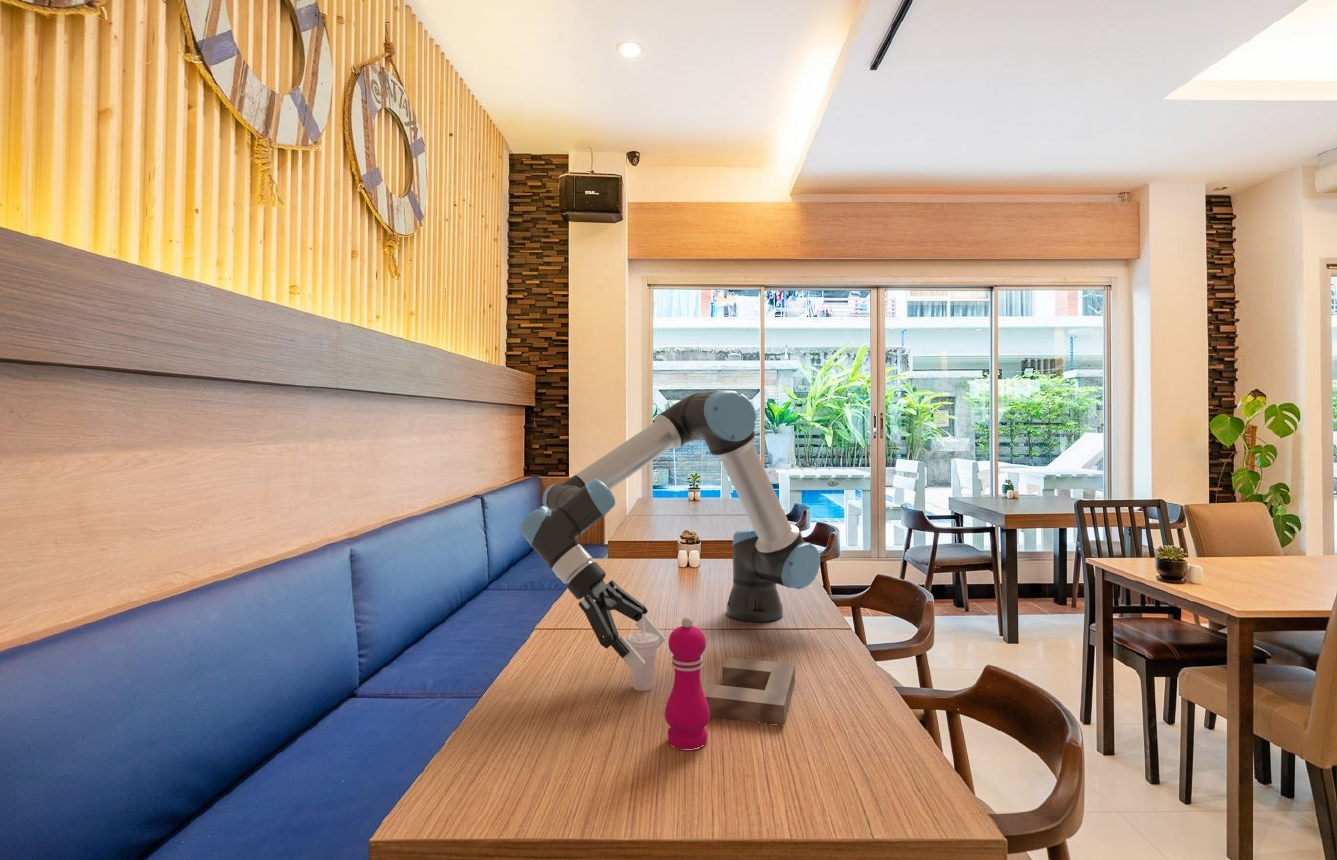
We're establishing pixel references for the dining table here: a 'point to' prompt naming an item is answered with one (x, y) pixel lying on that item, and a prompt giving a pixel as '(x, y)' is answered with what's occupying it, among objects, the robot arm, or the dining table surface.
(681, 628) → the pepper mill
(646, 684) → the smoothie
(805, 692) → the dining table surface
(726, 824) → the dining table surface
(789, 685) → the notched board
